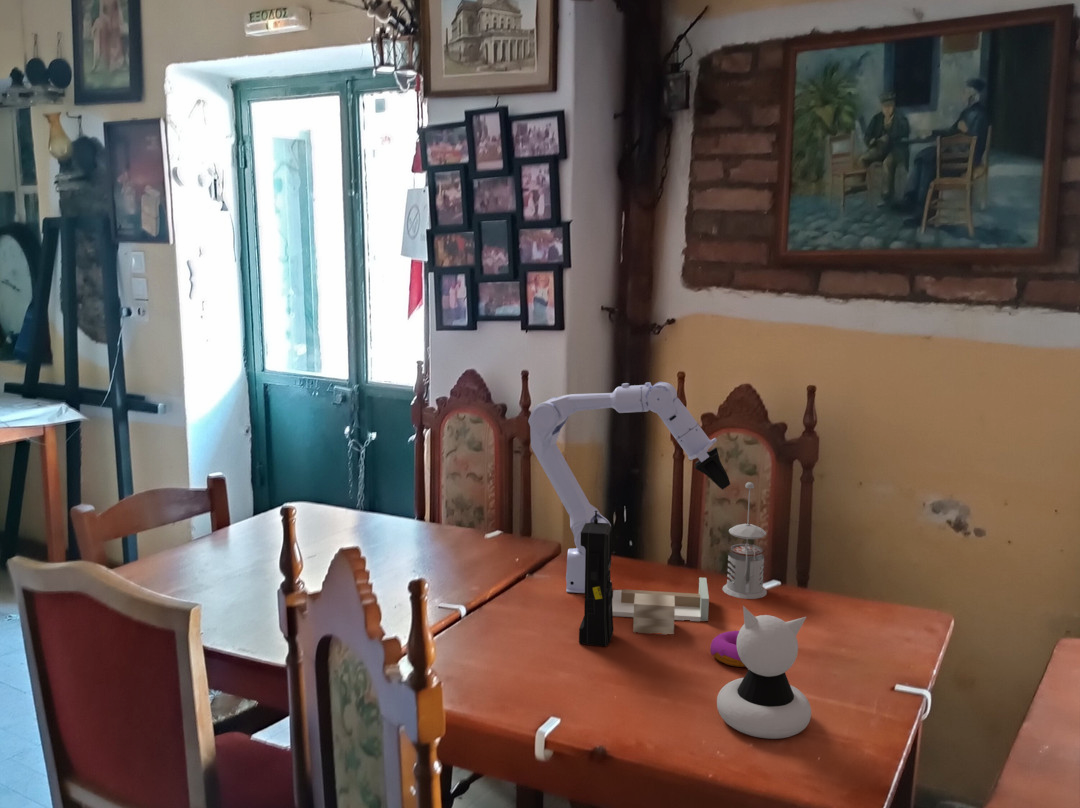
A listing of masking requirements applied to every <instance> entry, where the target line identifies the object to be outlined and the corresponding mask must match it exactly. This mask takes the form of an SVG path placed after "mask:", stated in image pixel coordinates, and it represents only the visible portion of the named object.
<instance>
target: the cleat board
mask: <svg viewBox="0 0 1080 808" xmlns="http://www.w3.org/2000/svg"><path fill="white" fill-rule="evenodd" d="M707 582H708V581H707V577H699V578H698V593H693V592H692V593H690V592H674V591H655V590H643V589H642V590H641V589H640V590H638V589H624V588H623V589H613V590H612V591H613V598H612V610H613V617H621V618H622V617H624V618H625V617H626V618H634V598H635V593H638V594H655V595H672V596H675V614H674V621H684V620H690V621H689V622H700V621H708V622H709V609H710V608H709V607H710V606H709V605H710V596H709V588H708V583H707Z"/></svg>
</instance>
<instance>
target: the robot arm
mask: <svg viewBox="0 0 1080 808" xmlns="http://www.w3.org/2000/svg"><path fill="white" fill-rule="evenodd" d="M610 408H611V409H614V410H615V411H616V412H617V413H619V414H624V413H644V412H646V413H647V412H649V411H651V412H652V413H655V414H657V415H658V417H659V418H660V419H661V421H662V422H663V424H664V426H666V428H667V430H668V431H669V432H670V434H671V435H672V436H673V437H674V439H675V441H676V442H677V443H678V444H679V447H681V448H682V450H683V451H684V453H685V454H686V455H687V458H688V460H689V461H692V460H695V459H698V460H697V461H696V462H695V463H694V464H695V465H694V468H695V470H697V471H699V472H700V473H702V474H704V475H705V476H706V477H708V478H709V479H710V480H711V481H712V482H713V483H714V484H715V485H716V486H717V487H718V488H719V489H720V490H724V489H726V488H727V487H729V486H731V481H730V478H729V475H728V474H727V471H726V470H725V468H724V466H723V464H722V462H721V459H720V456H719V451H718V448H717V447H716V446H715V447H713V448H712V449H710V448H711V447H712V446H713V445H714V444H715V443H716V442H717V441H718V440H717V438H716V437H714V438H712V439H710V437H709V436H707V434H706V433H705V431H704V430H703V429H702V427H701V425H699V423H698V422H697V421H696V419H695V417H694V416H693V415H692V413H690V410H689V409H688V408H687V407H686V405H684V403H683V402H682V400H680V398H679V397H678V392H677V388H675V386H674V385H673V384H672V383H669V382H666V381H665V382H664V381H658V382H656V383H654V384H653V385H652V383H651V382H650V381H649V382H645V383H644V384H639V385H638V384H637V385H636V384H634V385H630V383H628V382H625V383H621V386H617V387H616V388H615V389H613V391H612V392H603V393H602V392H601V393H597V392H596V393H573V394H572V393H571V394H564V395H560V396H556V397H555V396H554V397H550V398H549V399H547V400H545V401H544V402H541V403H538V404H536V405H535V406H534V407H533V409H532V411H531V413H530V415H529V418H528V421H527V422H528V424H529V427H530V447H531V449H532V451H533V453H534V455H535V456H536V457H535V458H536V459H537V460H538V462H539V464H540V466H541V467H542V470H543V471H544V474H545V475H546V476H547V478H548V480H549V482H550V484H551V486H552V487H553V488H554V491H555V492H556V495H557V496H558V498H559V500H560V502H561V503H562V505H563V507H564V508H565V511H566V512H567V514H568V515H569V525H570V530H571V531H572V535H573V541H574V544H575V547H576V548H568V549H567V557H566V574H565V581H566V590H565V592H566V593H576V594H585V550H586V549H585V548H584V547H583V546H581V531H582V529H583V527H584V525H585V523H590V522H594V519H595V512H594V511H598V512H597V520H598V523H609V524H610V526H611V527H612V525H611V523H610V521H609V520H608V519H607V518H606V517H605V516H603V515H602V514H601V513H600V511H599V509H598V508H596V507H595V506H594V505H592V504H591V503H590V502H589V499H588V498H587V496H586V494H585V492H584V491H583V489H582V487H581V485H580V484H579V481H578V480H577V477H576V476H575V475H574V472H573V471H572V469H571V468H570V466H569V464H568V462H567V461H566V459H565V457H564V455H563V453H562V452H561V450H560V448H559V447H558V444H557V441H558V438H559V435H560V433H561V430H562V428H563V427H564V426H565V424H566V422H567V421H568V420H569V419H570V416H571V415H573V414H575V413H577V412H579V411H581V412H582V411H590V410H599V409H610ZM709 449H710V450H709ZM610 582H612V580H611V579H610Z"/></svg>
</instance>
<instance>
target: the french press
mask: <svg viewBox="0 0 1080 808" xmlns="http://www.w3.org/2000/svg"><path fill="white" fill-rule="evenodd" d="M745 489H748V502H747V503H748V505H747V508H748V509H747V523H742V524H736V525H734V526H733V527H731V528H729V530H728V533H729V534H730V535H731V536H733V537H735V538H739V539H744V540H746V543H737V544H733V545H731V546H730V552H728V554H727V555H728V556H727V557H728V558H727V560H728V562H727V566H728V567H729V568H727V572H728V573H727V576H726V577H727V578H729V579H726V584H724V585H723V586H722V591H723V592H724V594H727V595H728V596H731V597H734V598H738V599H748V600H753V599H754V600H755V599H761V598H764V597H766V595H767V594H768V590H766V589H765V588H764V568H765V566H764V565H765V564H764V563H765V556H764V554H763V553H764V549H763V548H762V547H760V546H758V545H755V544H754V543H753V544H749V541H748V540H759V539H762V538H763V537H765V536H766V535H767V532H766V531H765V530H764V529H763V528H762V527H759V526H758V525H754V524H751V523H749V519H750V505H751V503H750V502H751V500H750V499H751V489H755V484H754V483H753V482H750V481H748V482H746V483H745ZM729 562H730V563H729ZM733 577H734V578H733Z"/></svg>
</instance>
